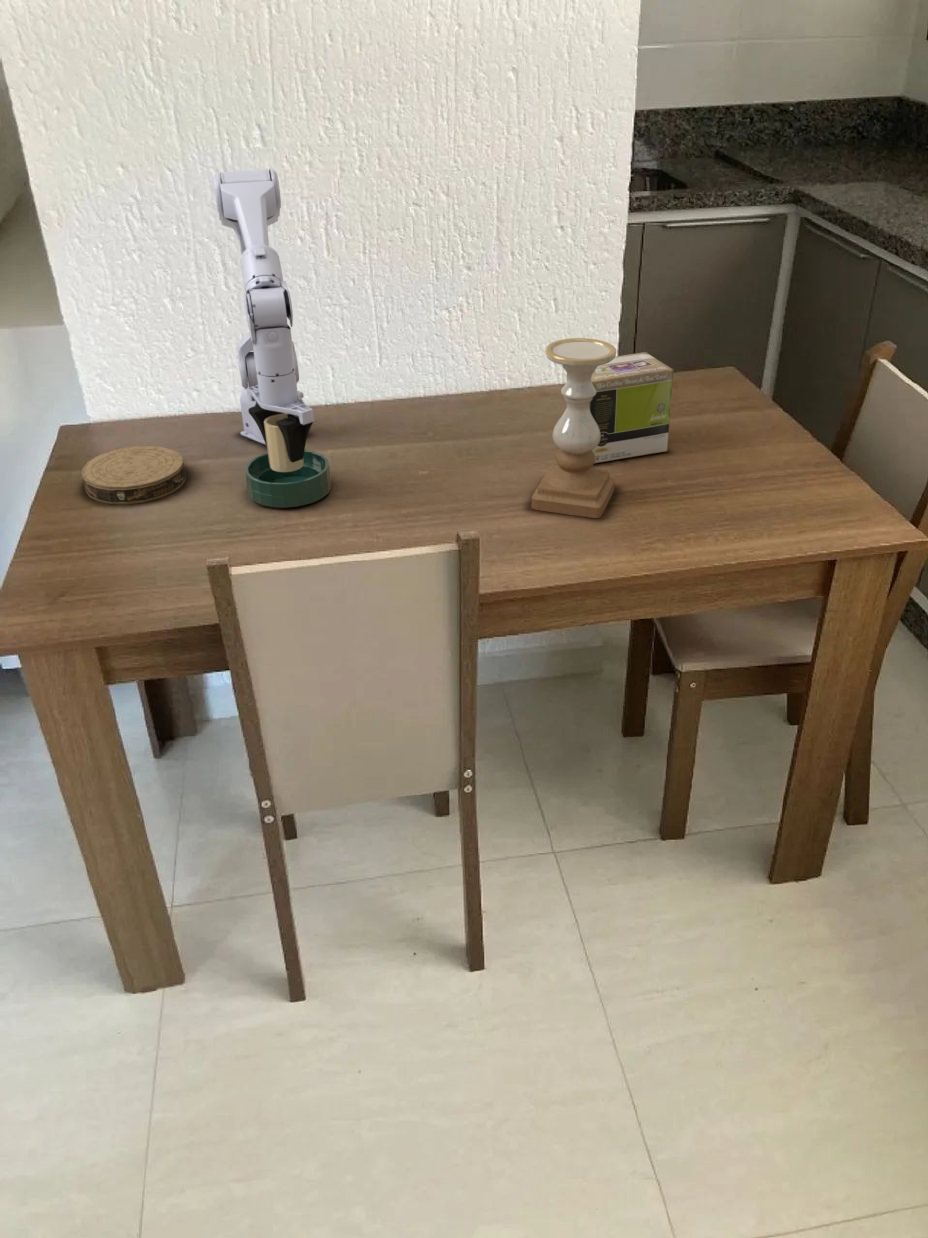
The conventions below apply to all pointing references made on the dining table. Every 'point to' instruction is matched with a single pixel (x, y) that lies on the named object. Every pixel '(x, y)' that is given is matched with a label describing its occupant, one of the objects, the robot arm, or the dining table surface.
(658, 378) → the tea box
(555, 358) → the candle holder
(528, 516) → the dining table surface
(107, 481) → the round wood slice
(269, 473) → the bowl
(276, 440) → the cup
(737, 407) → the dining table surface
